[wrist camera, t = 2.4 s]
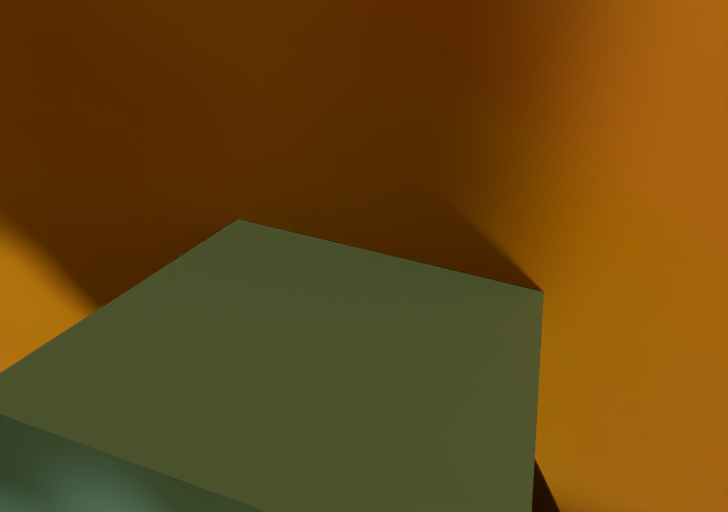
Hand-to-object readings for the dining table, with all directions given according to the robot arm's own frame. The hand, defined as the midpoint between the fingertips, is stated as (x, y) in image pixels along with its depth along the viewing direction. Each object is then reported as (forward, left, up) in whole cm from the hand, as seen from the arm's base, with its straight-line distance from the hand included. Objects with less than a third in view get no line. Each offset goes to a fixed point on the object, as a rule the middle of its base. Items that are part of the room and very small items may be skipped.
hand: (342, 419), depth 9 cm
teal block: (0, 0, -1) cm, 1 cm away
